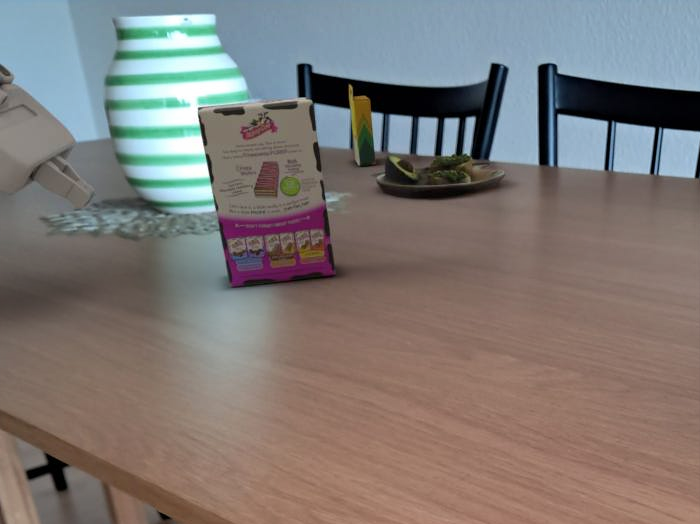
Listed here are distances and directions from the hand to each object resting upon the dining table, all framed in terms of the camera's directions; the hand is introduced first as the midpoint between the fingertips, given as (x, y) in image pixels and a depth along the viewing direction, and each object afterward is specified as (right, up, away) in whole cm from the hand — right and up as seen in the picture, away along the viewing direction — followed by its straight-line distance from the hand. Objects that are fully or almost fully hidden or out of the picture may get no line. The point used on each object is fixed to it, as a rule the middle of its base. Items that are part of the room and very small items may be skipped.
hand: (89, 200), depth 101 cm
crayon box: (+20, +36, +70) cm, 81 cm away
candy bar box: (+18, -6, +6) cm, 20 cm away
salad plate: (+33, +22, +46) cm, 61 cm away
